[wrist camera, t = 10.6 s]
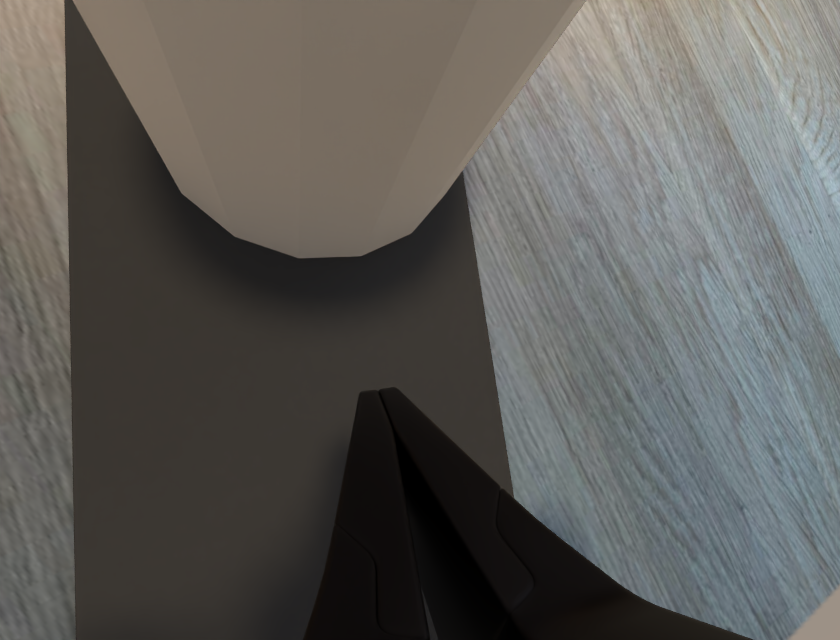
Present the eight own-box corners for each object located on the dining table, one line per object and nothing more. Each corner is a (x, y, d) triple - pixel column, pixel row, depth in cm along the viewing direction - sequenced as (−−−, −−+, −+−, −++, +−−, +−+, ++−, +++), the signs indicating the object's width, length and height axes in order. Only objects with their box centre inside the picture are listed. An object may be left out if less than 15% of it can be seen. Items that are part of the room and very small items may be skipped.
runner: (550, 740, 17) (552, 743, 17) (84, 943, 13) (80, 952, 12) (440, 40, 22) (441, 37, 22) (66, -2, 17) (64, -7, 17)
